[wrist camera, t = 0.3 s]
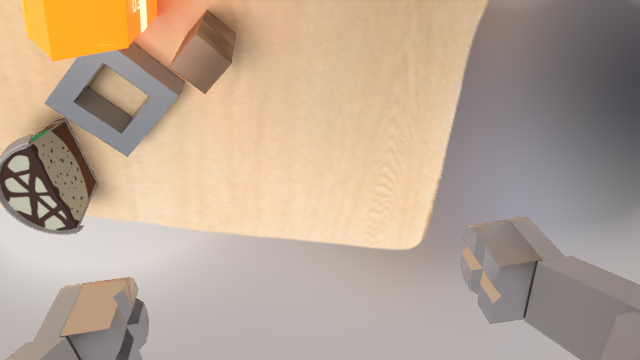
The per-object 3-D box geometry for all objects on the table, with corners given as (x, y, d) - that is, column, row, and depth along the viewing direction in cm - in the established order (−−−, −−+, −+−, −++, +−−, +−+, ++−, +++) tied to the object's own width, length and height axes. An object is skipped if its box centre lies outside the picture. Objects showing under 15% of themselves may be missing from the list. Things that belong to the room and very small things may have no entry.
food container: (8, 116, 53) (-38, 155, 45) (59, 106, 53) (23, 142, 45) (57, 200, 60) (24, 248, 51) (102, 191, 60) (78, 237, 51)
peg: (185, 36, 51) (169, 66, 41) (207, 9, 50) (195, 33, 40) (214, 59, 53) (205, 94, 43) (235, 34, 52) (231, 63, 42)
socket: (61, 88, 52) (44, 103, 48) (108, 23, 49) (94, 33, 45) (136, 138, 57) (127, 156, 52) (184, 81, 54) (178, 96, 49)
